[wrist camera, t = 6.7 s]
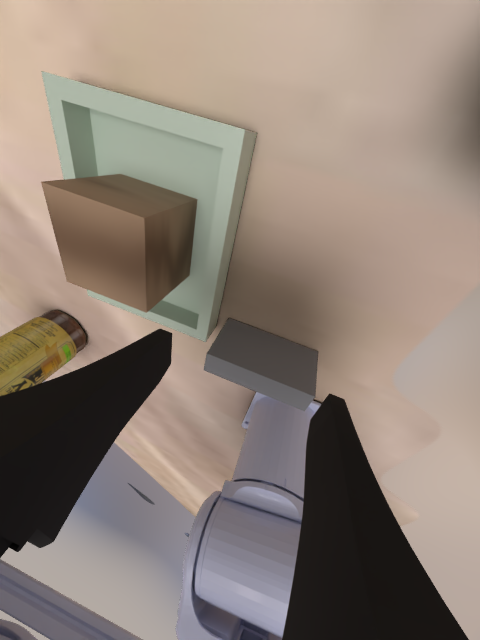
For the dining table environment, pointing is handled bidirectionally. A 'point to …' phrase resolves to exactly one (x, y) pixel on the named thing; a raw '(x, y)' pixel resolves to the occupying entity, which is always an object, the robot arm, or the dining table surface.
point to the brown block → (122, 236)
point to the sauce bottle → (38, 350)
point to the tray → (161, 180)
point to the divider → (264, 363)
